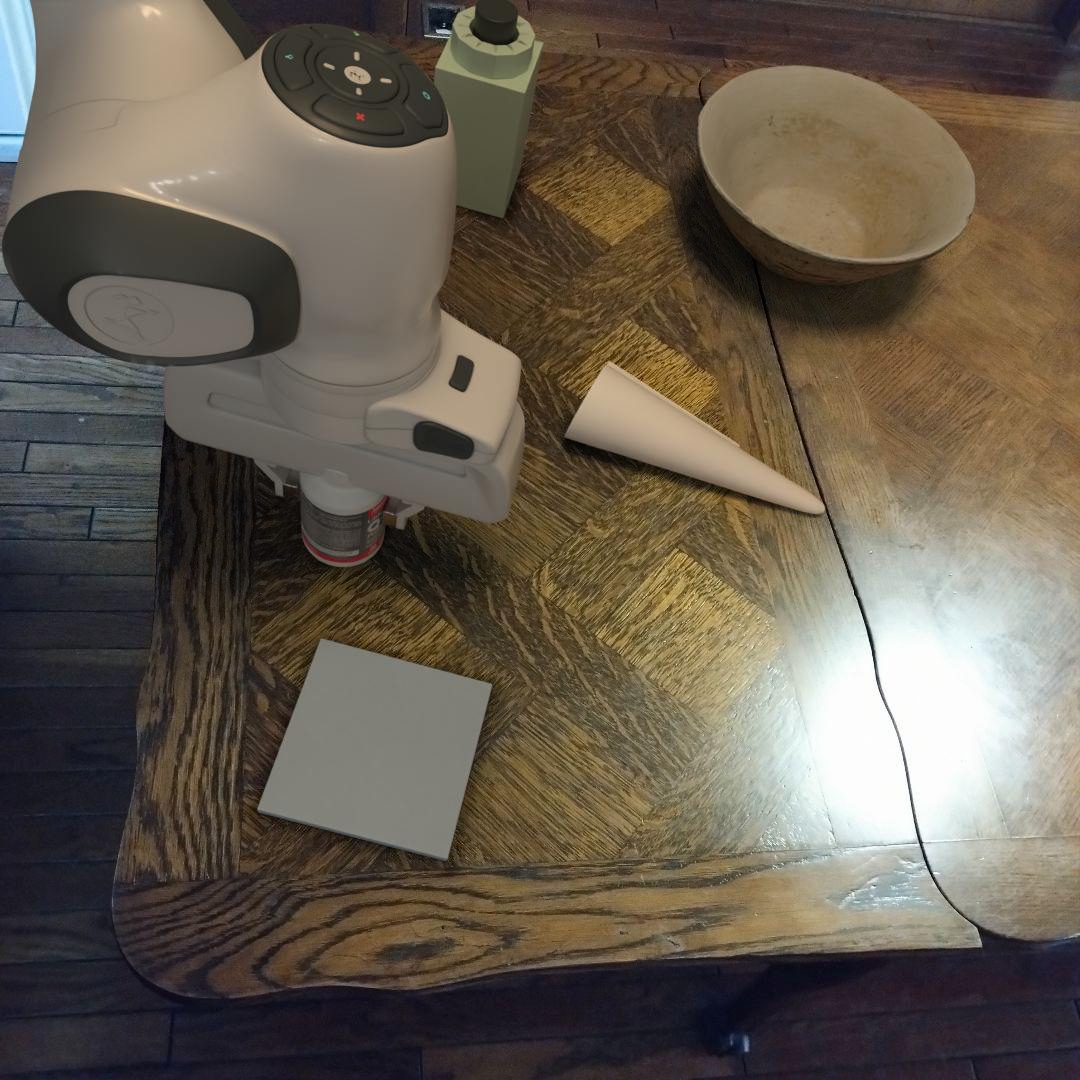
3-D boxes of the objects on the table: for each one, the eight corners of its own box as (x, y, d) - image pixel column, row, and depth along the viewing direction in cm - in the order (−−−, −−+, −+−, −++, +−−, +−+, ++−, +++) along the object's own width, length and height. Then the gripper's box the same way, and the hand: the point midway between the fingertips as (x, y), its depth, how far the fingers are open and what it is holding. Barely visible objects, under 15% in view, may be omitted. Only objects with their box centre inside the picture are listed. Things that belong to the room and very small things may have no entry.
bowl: (693, 336, 81) (733, 242, 72) (649, 146, 93) (680, 46, 84) (952, 348, 85) (1018, 261, 77) (878, 165, 97) (928, 73, 89)
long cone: (786, 584, 72) (555, 451, 72) (806, 525, 76) (587, 399, 76) (828, 542, 67) (582, 400, 67) (847, 481, 71) (614, 348, 71)
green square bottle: (423, 196, 84) (437, 41, 72) (444, 147, 88) (460, -8, 76) (503, 219, 84) (529, 68, 72) (520, 168, 88) (548, 18, 76)
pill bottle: (384, 570, 64) (393, 486, 56) (299, 568, 63) (295, 482, 55) (384, 501, 67) (393, 411, 59) (303, 498, 66) (300, 406, 58)
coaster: (257, 812, 55) (256, 809, 55) (320, 641, 61) (320, 637, 61) (446, 861, 56) (447, 859, 55) (491, 687, 62) (492, 683, 61)
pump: (468, 40, 74) (471, 14, 72) (478, 18, 75) (481, -9, 74) (509, 52, 74) (513, 26, 72) (518, 29, 75) (522, 3, 74)
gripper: (122, 344, 48) (161, 499, 60) (526, 457, 49) (488, 589, 61) (174, 258, 51) (202, 421, 63) (550, 366, 52) (510, 507, 64)
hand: (344, 504), depth 62 cm, fingers closed on pill bottle, 5 cm apart
